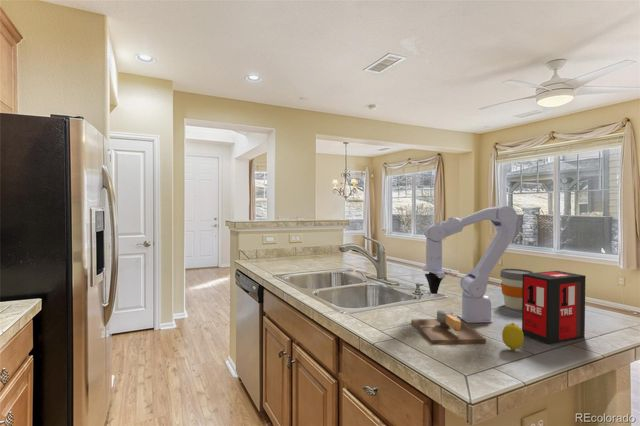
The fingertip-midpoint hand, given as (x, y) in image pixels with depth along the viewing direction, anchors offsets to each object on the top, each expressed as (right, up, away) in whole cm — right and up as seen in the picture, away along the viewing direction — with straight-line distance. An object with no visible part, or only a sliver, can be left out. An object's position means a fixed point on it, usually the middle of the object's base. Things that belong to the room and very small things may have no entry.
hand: (433, 293), depth 126 cm
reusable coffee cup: (+40, -10, +15) cm, 44 cm away
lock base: (-1, -10, -14) cm, 17 cm away
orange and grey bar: (0, -7, -15) cm, 17 cm away
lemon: (+14, -10, -28) cm, 33 cm away
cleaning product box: (+33, -10, -17) cm, 38 cm away
